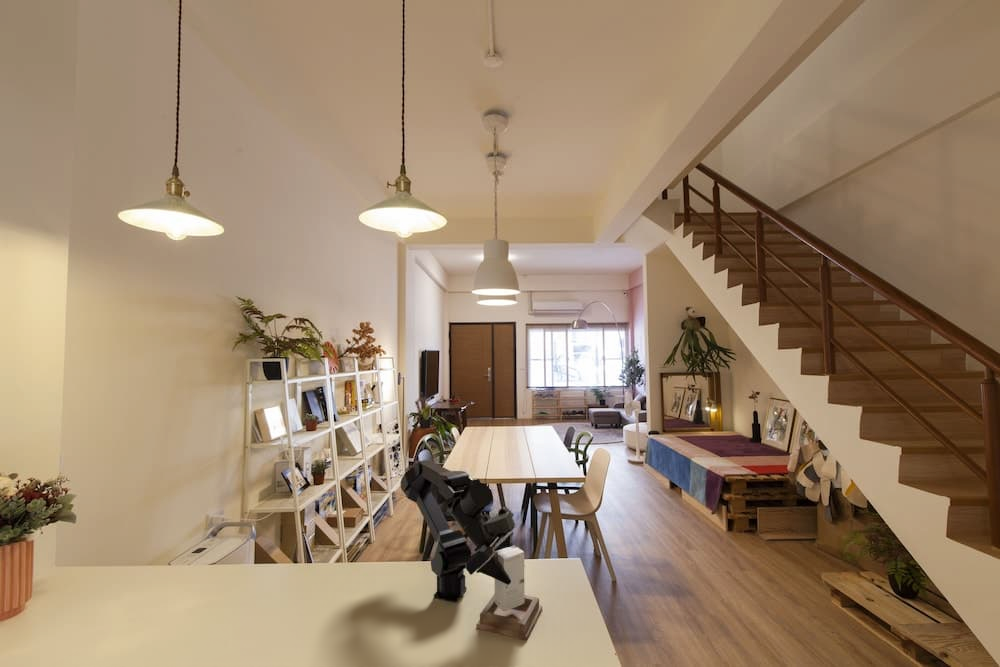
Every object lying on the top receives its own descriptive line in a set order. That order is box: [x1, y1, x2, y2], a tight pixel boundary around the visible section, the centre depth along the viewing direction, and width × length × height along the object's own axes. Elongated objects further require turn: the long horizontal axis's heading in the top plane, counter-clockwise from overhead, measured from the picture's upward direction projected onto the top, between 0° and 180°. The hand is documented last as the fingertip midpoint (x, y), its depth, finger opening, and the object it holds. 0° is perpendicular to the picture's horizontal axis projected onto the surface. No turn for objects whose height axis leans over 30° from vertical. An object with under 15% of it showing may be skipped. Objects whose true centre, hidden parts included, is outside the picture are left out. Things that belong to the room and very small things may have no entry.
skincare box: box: [494, 545, 525, 611], centre depth 103 cm, size 6×4×12 cm
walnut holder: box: [476, 593, 543, 641], centre depth 103 cm, size 12×12×3 cm
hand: (515, 575), depth 103 cm, fingers closed on skincare box, 7 cm apart
